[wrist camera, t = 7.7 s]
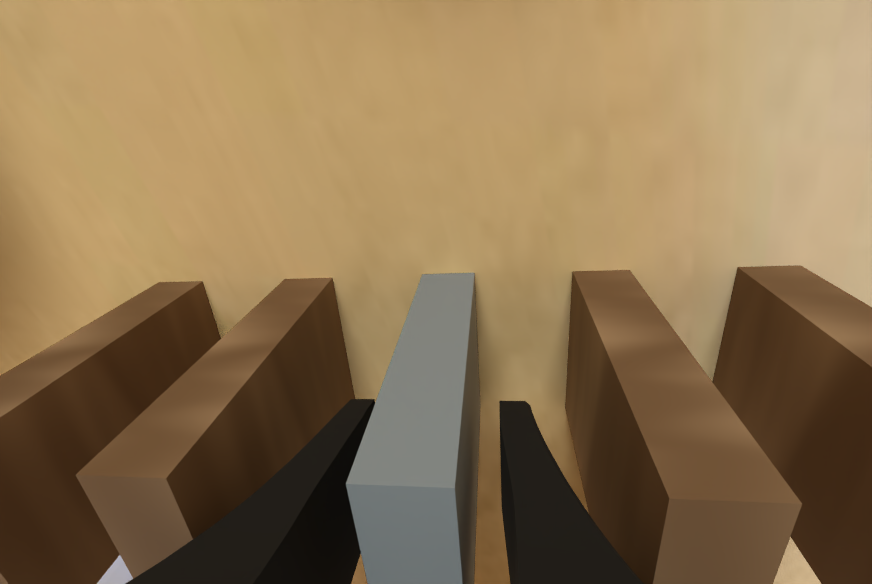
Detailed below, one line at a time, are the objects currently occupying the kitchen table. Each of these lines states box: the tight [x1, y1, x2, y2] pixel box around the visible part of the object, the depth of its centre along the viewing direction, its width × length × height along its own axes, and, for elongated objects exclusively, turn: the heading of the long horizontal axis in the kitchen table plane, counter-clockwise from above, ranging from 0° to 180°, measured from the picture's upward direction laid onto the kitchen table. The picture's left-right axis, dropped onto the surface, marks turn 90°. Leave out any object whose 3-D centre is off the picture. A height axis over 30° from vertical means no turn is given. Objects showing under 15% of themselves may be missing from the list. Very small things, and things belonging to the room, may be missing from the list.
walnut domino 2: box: [76, 278, 355, 579], centre depth 12 cm, size 2×5×8 cm, turn 4°
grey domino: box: [346, 273, 480, 584], centre depth 11 cm, size 2×5×8 cm, turn 5°
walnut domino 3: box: [565, 270, 802, 584], centre depth 10 cm, size 2×5×8 cm, turn 5°
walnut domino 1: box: [0, 281, 221, 584], centre depth 12 cm, size 2×5×8 cm, turn 4°
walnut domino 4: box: [713, 266, 872, 584], centre depth 10 cm, size 2×5×8 cm, turn 4°
